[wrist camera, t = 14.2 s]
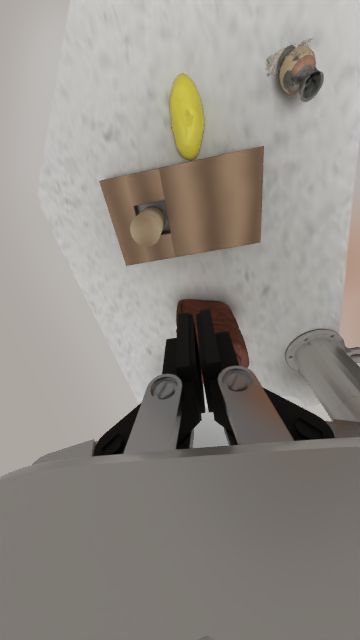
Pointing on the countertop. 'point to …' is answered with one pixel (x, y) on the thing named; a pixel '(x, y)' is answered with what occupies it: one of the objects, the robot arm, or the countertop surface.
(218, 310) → the wooden figurine
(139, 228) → the dowel
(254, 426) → the robot arm
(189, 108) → the lemon
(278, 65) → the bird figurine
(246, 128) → the countertop surface
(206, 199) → the board
